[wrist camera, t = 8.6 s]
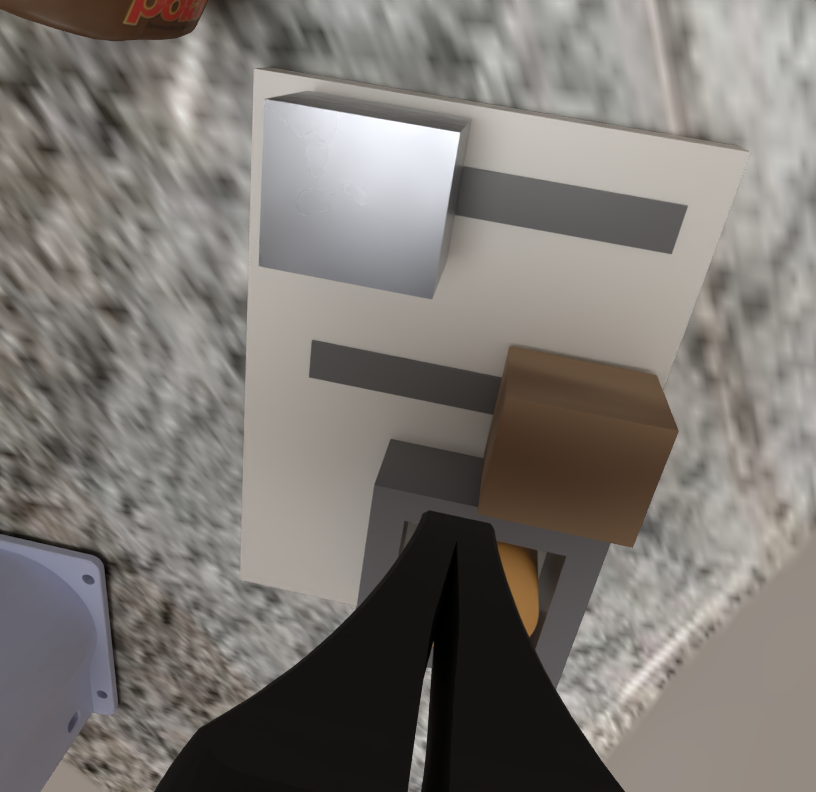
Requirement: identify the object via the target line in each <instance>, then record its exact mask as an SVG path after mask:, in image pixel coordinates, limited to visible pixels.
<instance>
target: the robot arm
mask: <svg viewBox="0 0 816 792" xmlns="http://www.w3.org/2000/svg"><path fill="white" fill-rule="evenodd" d="M433 642H434V646H433ZM432 646H433V660H432V674H431V689H430V704H429V719H428V734H427V748H426V758H425V767H424V776H423V782H422V789H421V792H625V791H624V790H623V789H622V787H621V786H620V785H619V783H618V782H617V781H616V780H615V778H614V777H613V775H612V774H611V773H610V771H609V770H608V769H607V767H606V766H605V765H604V763H603V762H602V761H601V759H600V758H599V756H598V755H597V753H596V752H595V750H594V749H593V747H592V746H591V744H590V743H589V741H588V740H587V738H586V737H585V736H584V734H583V733H582V731H581V730H580V728H579V727H578V725H577V724H576V722H575V721H574V719H573V718H572V716H571V715H570V713H569V711H568V710H567V708H566V706H565V705H564V703H563V701H562V699H561V698H560V696H559V694H558V693H557V691H556V689H555V687H554V686H553V684H552V682H551V680H550V678H549V676H548V675H547V673H546V671H545V669H544V667H543V665H542V663H541V661H540V659H539V657H538V655H537V653H536V651H535V649H534V647H533V644H532V642H531V640H530V638H529V635H528V633H527V631H526V629H525V626H524V624H523V622H522V619H521V617H520V614H519V612H518V609H517V606H516V604H515V601H514V598H513V595H512V593H511V590H510V587H509V584H508V581H507V578H506V575H505V572H504V569H503V565H502V562H501V558H500V554H499V550H498V546H497V541H496V536H495V529H494V528H493V526H492V525H491V524H490V523H486V522H482V521H477V520H472V519H468V518H463V517H459V516H454V515H449V514H445V513H440V512H435V511H431V510H428V511H426V512H425V513H423V514H422V516H421V519H420V522H419V524H418V526H417V528H416V530H415V532H414V534H413V535H412V537H411V539H410V540H409V542H408V544H407V545H406V547H405V548H404V550H403V551H402V553H401V554H400V556H399V557H398V558H397V560H396V561H395V563H394V564H393V565H392V567H391V568H390V569H389V571H388V572H387V574H386V575H385V576H384V577H383V579H382V580H381V581H380V582H379V584H378V585H377V586H376V587H375V588H374V589H373V591H372V592H371V593H370V594H369V595H368V596H367V598H366V599H365V600H364V601H363V602H362V603H361V605H360V606H359V607H358V608H357V609H356V610H355V611H354V612H353V613H352V614H351V615H350V616H349V617H348V618H347V619H346V620H345V621H344V622H343V623H342V624H341V625H340V626H339V627H338V628H337V629H336V630H335V631H334V632H333V633H332V634H331V635H330V636H329V637H328V638H326V639H325V640H324V641H323V642H322V643H321V644H320V645H318V646H317V647H316V648H315V649H314V650H313V651H312V652H310V653H309V654H308V655H307V656H306V657H305V658H303V659H302V660H301V661H300V662H298V663H297V664H296V665H295V666H293V667H292V668H291V669H289V670H288V671H287V672H285V673H284V674H282V675H281V676H280V677H278V678H277V679H276V680H274V681H273V682H271V683H270V684H269V685H267V686H266V687H265V688H263V689H262V690H260V691H259V692H258V693H256V694H255V695H253V696H252V697H250V698H249V699H247V700H246V701H244V702H242V703H241V704H239V705H237V706H236V707H234V708H232V709H231V710H229V711H227V712H226V713H224V714H222V715H221V716H219V717H217V718H216V719H214V720H212V721H211V722H209V723H208V724H206V725H204V726H202V727H201V728H199V729H198V731H197V732H196V733H195V734H194V735H193V737H192V738H191V739H190V740H189V742H188V743H187V744H186V746H185V747H184V748H183V749H182V751H181V752H180V753H179V755H178V756H177V758H176V759H175V760H174V762H173V763H172V765H171V766H170V767H169V769H168V771H167V772H166V774H165V775H164V777H163V778H162V780H161V781H160V783H159V785H158V786H157V788H156V790H155V791H154V792H408V784H409V777H410V769H411V762H412V754H413V747H414V740H415V733H416V726H417V719H418V712H419V705H420V698H421V691H422V685H423V679H424V675H425V671H426V668H427V664H428V661H429V657H430V653H431V650H432ZM117 708H118V698H117V688H116V678H115V669H114V659H113V649H112V639H111V630H110V620H109V610H108V600H107V591H106V581H105V571H104V565H103V563H102V561H101V560H100V559H99V558H97V557H96V556H93V555H90V554H85V553H81V552H77V551H72V550H68V549H64V548H59V547H55V546H51V545H46V544H42V543H37V542H33V541H29V540H24V539H20V538H16V537H11V536H7V535H3V534H0V792H40V791H41V790H42V788H43V787H44V785H45V784H46V782H47V780H48V779H49V778H50V776H51V775H52V773H53V772H54V770H55V768H56V767H57V765H58V764H59V762H60V761H61V759H62V758H63V756H64V755H65V753H66V752H67V750H68V749H69V747H70V746H71V744H72V743H73V741H74V740H75V738H76V737H77V735H78V734H79V732H80V731H81V729H82V728H83V726H84V724H85V723H86V721H87V720H88V718H89V717H90V715H91V714H92V712H93V713H97V714H102V715H107V716H109V715H112V714H114V713H115V711H116V709H117Z"/></svg>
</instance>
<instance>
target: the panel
mask: <svg viewBox="0 0 816 792" xmlns="http://www.w3.org/2000/svg"><path fill="white" fill-rule="evenodd" d="M303 91H313V92H319V93H325V94H331V95H337V96H343V97H349V98H355V99H360V100H366V101H372V102H378V103H384V104H390V105H396V106H402V107H407V108H413V109H419V110H425V111H431V112H437V113H443V114H449V115H454V116H460V117H466V118H472V120H471V126H470V132H469V137H468V143H467V149H466V155H465V160H464V166H463V172H462V178H461V183H460V189H459V195H458V201H457V206H456V212H455V218H454V224H453V229H452V235H451V241H450V247H449V252H448V258H447V263H446V265H445V268H444V270H443V273H442V275H441V278H440V281H439V283H438V286H437V288H436V291H435V294H434V296H433V299H427V298H421V297H416V296H411V295H406V294H401V293H395V292H390V291H385V290H380V289H374V288H369V287H364V286H359V285H354V284H348V283H343V282H338V281H333V280H327V279H322V278H317V277H312V276H307V275H301V274H296V273H291V272H286V271H281V270H275V269H270V268H265V267H260V266H259V237H260V208H261V180H262V151H263V122H264V99H266V98H272V97H277V96H282V95H287V94H292V93H298V92H303ZM750 154H751V152H749V151H747V150H745V149H743V148H741V147H739V146H736V145H730V144H724V143H718V142H712V141H706V140H700V139H694V138H688V137H682V136H676V135H670V134H664V133H658V132H653V131H647V130H641V129H635V128H629V127H623V126H617V125H611V124H605V123H599V122H593V121H587V120H581V119H575V118H569V117H563V116H557V115H552V114H546V113H540V112H534V111H528V110H522V109H516V108H510V107H504V106H498V105H492V104H486V103H480V102H474V101H468V100H462V99H456V98H451V97H445V96H439V95H433V94H427V93H421V92H415V91H409V90H403V89H397V88H391V87H385V86H379V85H373V84H367V83H361V82H355V81H349V80H344V79H338V78H332V77H326V76H320V75H314V74H308V73H302V72H296V71H290V70H284V69H278V68H272V67H267V68H254V88H253V125H252V161H251V198H250V234H249V270H248V307H247V343H246V380H245V416H244V453H243V489H242V525H241V562H240V580H244V581H248V582H253V583H257V584H262V585H266V586H270V587H275V588H279V589H283V590H288V591H292V592H297V593H301V594H305V595H310V596H314V597H318V598H323V599H327V600H332V601H336V602H340V603H345V604H349V605H353V606H357V607H356V609H357V608H358V607H359V606H360V605H361V603H362V602H363V601H364V600H365V599H366V598H367V596H368V595H369V594H370V593H371V592H372V591H373V589H374V588H375V587H376V586H377V585H378V584H379V582H380V581H381V580H382V579H383V577H384V576H385V575H386V574H387V572H388V571H389V569H390V568H391V567H392V565H393V564H394V563H395V561H396V560H397V558H398V557H399V556H400V554H401V553H402V551H403V550H404V548H405V547H406V545H407V544H408V542H409V540H410V539H411V537H412V535H413V534H414V532H415V530H416V528H417V526H418V524H419V522H420V519H421V516H422V514H423V513H425V512H426V511H428V510H431V511H435V512H440V513H445V514H449V515H454V516H459V517H463V518H468V519H472V520H477V521H482V522H486V523H490V524H491V525H492V526H493V528H494V529H495V536H496V541H499V542H504V543H508V544H513V545H517V546H522V547H527V548H531V549H536V550H537V551H538V601H539V614H538V621H537V625H536V627H535V630H534V631H533V633H532V634H531V636H530V637H529V638H530V640H531V642H532V644H533V647H534V649H535V651H536V653H537V655H538V657H539V659H540V661H541V663H542V665H543V667H544V669H545V671H546V673H547V675H548V676H549V678H550V680H551V682H552V684H553V686H554V687H555V689H556V688H557V685H558V683H559V680H560V677H561V675H562V672H563V669H564V667H565V664H566V661H567V658H568V656H569V653H570V650H571V648H572V645H573V642H574V640H575V637H576V634H577V632H578V629H579V626H580V624H581V621H582V618H583V616H584V613H585V610H586V607H587V605H588V602H589V599H590V597H591V594H592V591H593V589H594V586H595V583H596V581H597V578H598V575H599V573H600V570H601V567H602V564H603V562H604V559H605V556H606V554H607V551H608V548H609V546H610V543H609V542H605V541H600V540H595V539H591V538H586V537H581V536H577V535H572V534H567V533H563V532H558V531H553V530H549V529H544V528H539V527H535V526H530V525H525V524H521V523H516V522H511V521H507V520H502V519H497V518H493V517H488V516H484V515H479V514H477V513H478V504H479V495H480V487H481V478H482V469H483V460H484V452H485V448H486V443H487V439H488V435H489V431H490V426H491V422H492V418H493V413H494V409H495V405H496V401H497V396H498V392H499V388H500V384H501V379H502V375H503V371H504V367H505V362H506V358H507V354H508V350H509V346H510V347H515V348H520V349H526V350H531V351H536V352H541V353H546V354H551V355H556V356H561V357H567V358H572V359H577V360H582V361H587V362H592V363H597V364H602V365H608V366H613V367H618V368H623V369H628V370H633V371H638V372H643V373H649V374H654V375H657V377H658V379H659V382H660V385H661V387H662V390H664V387H665V384H666V382H667V379H668V376H669V374H670V371H671V368H672V365H673V363H674V360H675V357H676V355H677V352H678V349H679V346H680V344H681V341H682V338H683V336H684V333H685V330H686V328H687V325H688V322H689V319H690V317H691V314H692V311H693V309H694V306H695V303H696V300H697V298H698V295H699V292H700V290H701V287H702V284H703V281H704V279H705V276H706V273H707V271H708V268H709V265H710V262H711V260H712V257H713V254H714V252H715V249H716V246H717V244H718V241H719V238H720V235H721V233H722V230H723V227H724V225H725V222H726V219H727V216H728V214H729V211H730V208H731V206H732V203H733V200H734V197H735V195H736V192H737V189H738V187H739V184H740V181H741V178H742V176H743V173H744V170H745V168H746V165H747V162H748V160H749V157H750ZM432 660H433V646H432V650H431V653H430V657H429V661H428V664H427V667H429V668H432Z"/></svg>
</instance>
